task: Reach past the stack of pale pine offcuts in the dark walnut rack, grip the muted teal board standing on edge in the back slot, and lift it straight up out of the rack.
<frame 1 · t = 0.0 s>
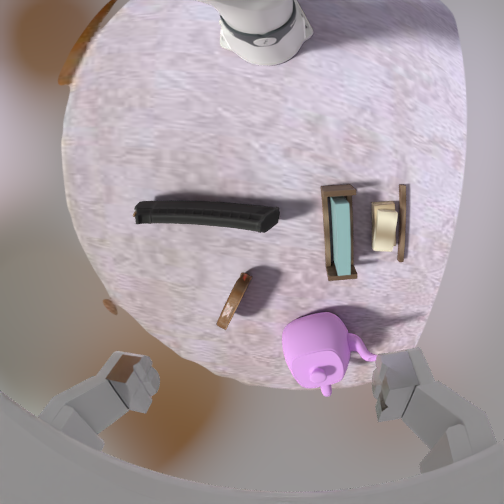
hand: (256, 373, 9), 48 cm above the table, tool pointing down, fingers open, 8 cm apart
rack: (360, 226, 54), on the table
magazine: (207, 207, 58), on the table
offcut top: (384, 229, 51), point 2 cm above the table, touching offcut middle
offcut middle: (383, 224, 52), point 1 cm above the table, touching offcut bottom, offcut top
tin: (237, 291, 65), on the table
teapot: (318, 333, 66), on the table
board: (337, 227, 55), resting in rack
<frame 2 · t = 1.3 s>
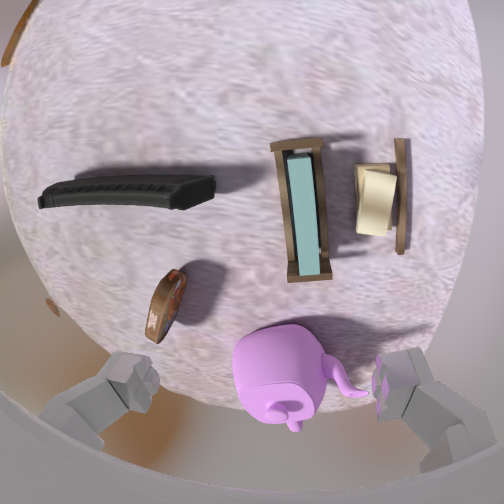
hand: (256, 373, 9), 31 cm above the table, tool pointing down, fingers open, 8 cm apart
rack: (338, 200, 36), on the table
magazine: (129, 184, 40), on the table
offcut top: (374, 202, 33), point 2 cm above the table, touching offcut middle
offcut middle: (373, 197, 35), resting on offcut bottom, touching offcut top
tin: (174, 294, 48), on the table
teapot: (286, 350, 49), on the table
board: (303, 203, 37), resting in rack
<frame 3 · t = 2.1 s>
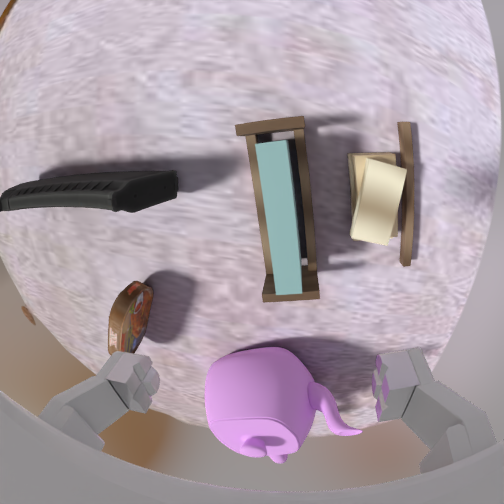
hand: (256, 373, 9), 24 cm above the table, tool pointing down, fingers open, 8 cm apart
rack: (328, 199, 29), on the table
magazine: (89, 183, 33), on the table
offcut top: (376, 200, 26), point 2 cm above the table, touching offcut middle
offcut middle: (374, 194, 27), point 1 cm above the table, touching offcut bottom, offcut top
tin: (141, 308, 40), on the table
offcut bottom: (369, 194, 29), on the table, touching offcut middle
teapot: (269, 374, 42), on the table
board: (284, 202, 30), resting in rack
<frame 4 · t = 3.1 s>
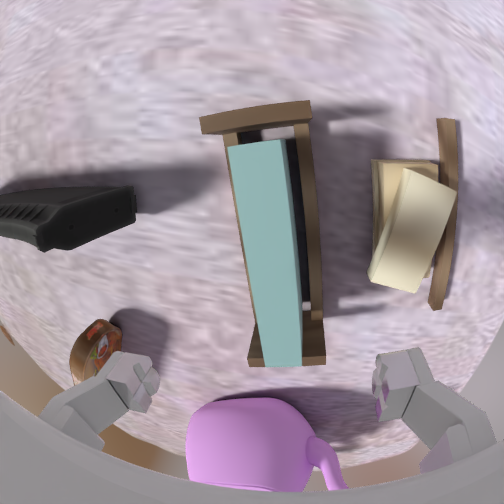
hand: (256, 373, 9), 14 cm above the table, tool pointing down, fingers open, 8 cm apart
rack: (342, 224, 21), on the table
magazine: (44, 200, 25), on the table
offcut top: (409, 230, 18), point 2 cm above the table, touching offcut middle
offcut middle: (404, 219, 19), point 1 cm above the table, touching offcut top
tin: (112, 345, 32), on the table
offcut bottom: (397, 217, 20), on the table
teapot: (262, 420, 33), on the table
board: (280, 229, 22), resting in rack
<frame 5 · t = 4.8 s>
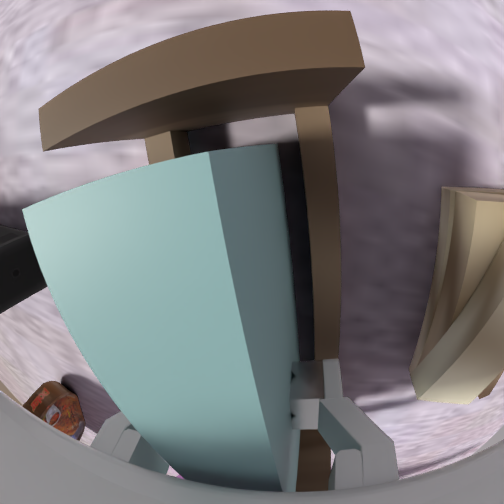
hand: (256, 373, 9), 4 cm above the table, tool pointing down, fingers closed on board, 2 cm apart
rack: (379, 304, 11), on the table
offcut top: (492, 313, 8), point 2 cm above the table, touching offcut middle
offcut middle: (476, 292, 9), point 1 cm above the table, touching offcut bottom, offcut top
tin: (72, 402, 22), on the table
offcut bottom: (462, 282, 11), on the table, touching offcut middle
board: (268, 312, 12), resting in rack, touching gripper
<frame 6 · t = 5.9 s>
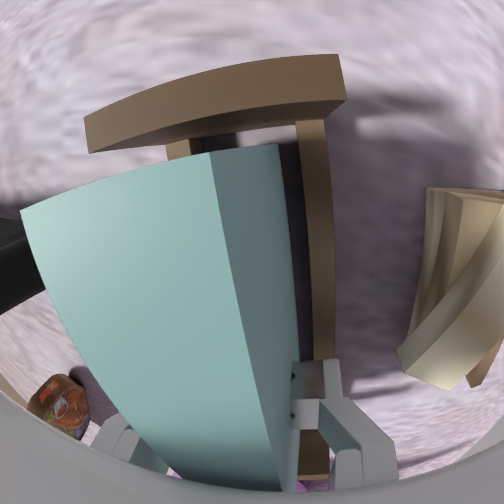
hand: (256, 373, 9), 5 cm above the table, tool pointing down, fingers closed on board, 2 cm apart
rack: (371, 292, 12), on the table
offcut top: (476, 300, 9), point 2 cm above the table, touching offcut middle
offcut middle: (464, 284, 10), point 1 cm above the table, touching offcut bottom, offcut top
tin: (78, 395, 23), on the table
offcut bottom: (449, 276, 12), on the table, touching offcut middle
board: (268, 312, 12), point 1 cm above the table, touching gripper
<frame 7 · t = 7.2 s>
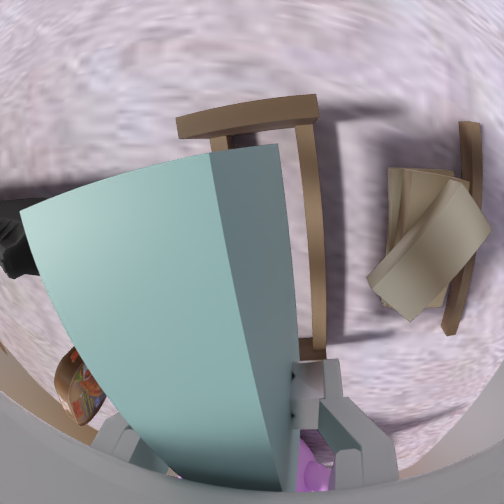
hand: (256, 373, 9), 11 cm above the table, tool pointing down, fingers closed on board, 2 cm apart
rack: (351, 244, 18), on the table
magazine: (26, 211, 22), on the table
offcut top: (429, 248, 15), point 2 cm above the table, touching offcut middle
offcut middle: (423, 239, 16), point 1 cm above the table, touching offcut bottom, offcut top
tin: (101, 363, 29), on the table
offcut bottom: (413, 235, 17), on the table, touching offcut middle
teapot: (260, 441, 30), on the table
board: (268, 312, 12), point 7 cm above the table, touching gripper
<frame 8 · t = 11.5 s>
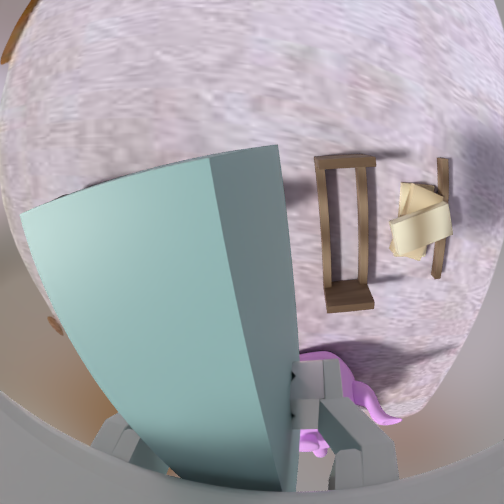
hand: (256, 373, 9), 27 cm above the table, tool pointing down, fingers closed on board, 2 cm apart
rack: (379, 222, 32), on the table
offcut top: (420, 225, 29), point 2 cm above the table, touching offcut middle
offcut middle: (414, 221, 31), point 1 cm above the table, touching offcut bottom, offcut top
offcut bottom: (411, 218, 32), on the table, touching offcut middle
teapot: (312, 376, 45), on the table
board: (268, 313, 12), point 23 cm above the table, touching gripper
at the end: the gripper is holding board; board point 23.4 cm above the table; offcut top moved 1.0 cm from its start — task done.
